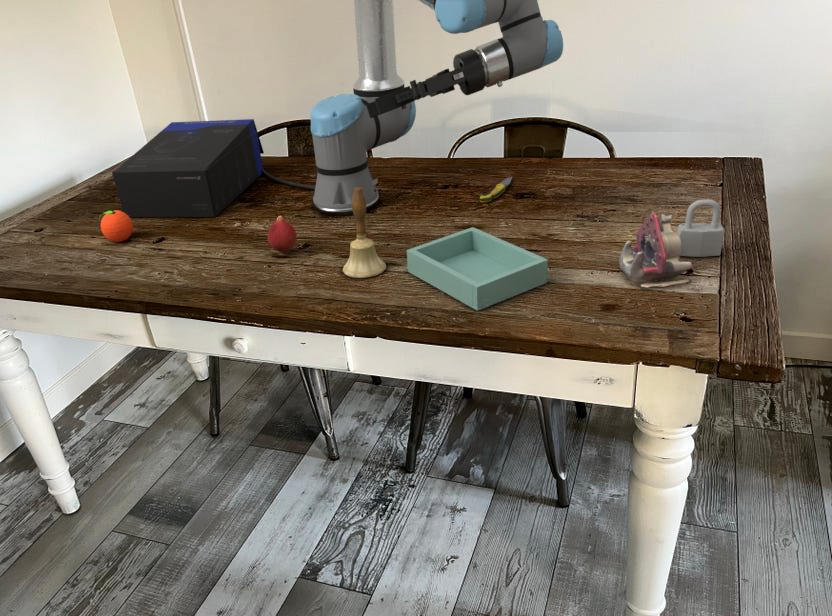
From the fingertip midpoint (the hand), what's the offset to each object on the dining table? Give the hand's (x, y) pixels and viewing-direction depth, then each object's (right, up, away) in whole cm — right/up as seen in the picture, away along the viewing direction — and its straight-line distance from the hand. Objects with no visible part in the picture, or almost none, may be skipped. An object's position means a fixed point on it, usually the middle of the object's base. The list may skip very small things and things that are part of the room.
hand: (372, 109), depth 138 cm
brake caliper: (+48, -32, -10) cm, 58 cm away
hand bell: (-1, -29, +4) cm, 30 cm away
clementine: (-57, -20, +30) cm, 67 cm away
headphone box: (-43, -3, +54) cm, 69 cm away
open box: (+18, -32, -4) cm, 37 cm away
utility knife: (+30, -8, +32) cm, 45 cm away
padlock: (+58, -28, -5) cm, 64 cm away
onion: (-18, -25, +14) cm, 34 cm away
